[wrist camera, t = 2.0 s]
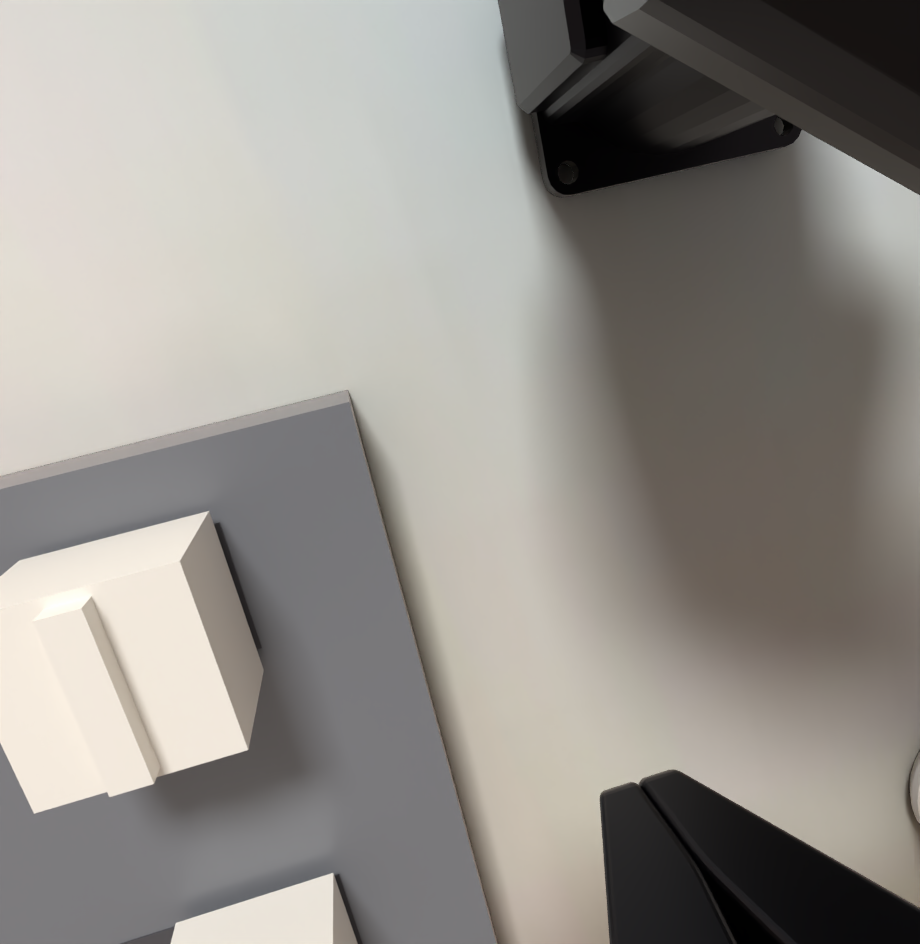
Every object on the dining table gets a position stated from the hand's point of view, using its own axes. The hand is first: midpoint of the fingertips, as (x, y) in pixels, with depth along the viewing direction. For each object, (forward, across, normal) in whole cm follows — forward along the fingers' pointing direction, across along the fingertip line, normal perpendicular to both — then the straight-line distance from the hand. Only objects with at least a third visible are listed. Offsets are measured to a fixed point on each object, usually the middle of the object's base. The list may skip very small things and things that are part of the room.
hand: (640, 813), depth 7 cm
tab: (+10, +8, 0) cm, 12 cm away
